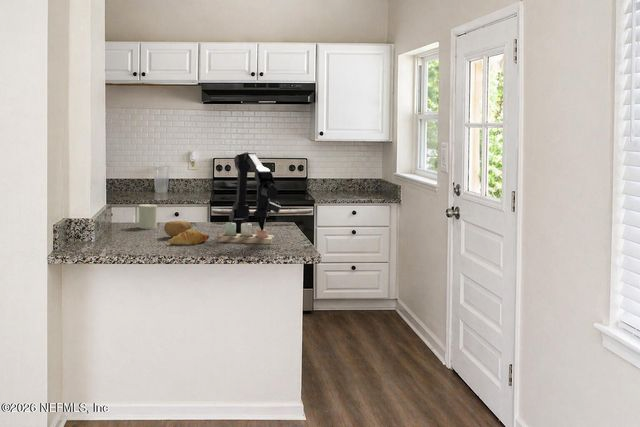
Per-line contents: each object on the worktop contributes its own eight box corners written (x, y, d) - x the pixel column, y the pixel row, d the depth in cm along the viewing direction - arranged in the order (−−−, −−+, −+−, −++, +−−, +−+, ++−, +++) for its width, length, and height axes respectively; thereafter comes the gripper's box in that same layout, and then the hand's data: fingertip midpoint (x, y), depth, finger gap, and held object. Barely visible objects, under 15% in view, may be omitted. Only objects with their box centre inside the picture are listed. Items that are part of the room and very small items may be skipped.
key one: (224, 235, 378) (224, 223, 378) (226, 233, 383) (226, 222, 382) (234, 235, 378) (235, 223, 377) (236, 234, 383) (236, 222, 382)
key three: (255, 242, 378) (256, 230, 377) (257, 240, 383) (257, 228, 382) (266, 242, 378) (266, 230, 377) (267, 241, 383) (268, 229, 382)
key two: (240, 236, 378) (240, 224, 377) (241, 234, 383) (242, 222, 382) (250, 236, 378) (251, 224, 377) (252, 235, 383) (252, 223, 382)
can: (160, 227, 413) (161, 204, 412) (147, 229, 405) (148, 205, 404) (147, 225, 418) (147, 202, 417) (134, 227, 410) (134, 204, 409)
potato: (196, 237, 385) (196, 221, 384) (170, 239, 376) (170, 223, 375) (185, 234, 393) (185, 218, 392) (159, 236, 383) (160, 220, 382)
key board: (217, 241, 376) (218, 236, 375) (221, 238, 387) (222, 233, 386) (271, 243, 375) (271, 238, 374) (273, 240, 385) (273, 235, 385)
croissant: (172, 253, 360) (176, 239, 357) (161, 240, 366) (166, 226, 362) (211, 248, 374) (216, 234, 371) (200, 236, 380) (205, 222, 377)
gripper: (278, 199, 368) (277, 233, 370) (282, 195, 387) (281, 227, 388) (253, 198, 369) (253, 232, 370) (259, 194, 387) (258, 226, 389)
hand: (262, 229), depth 380 cm, fingers closed
